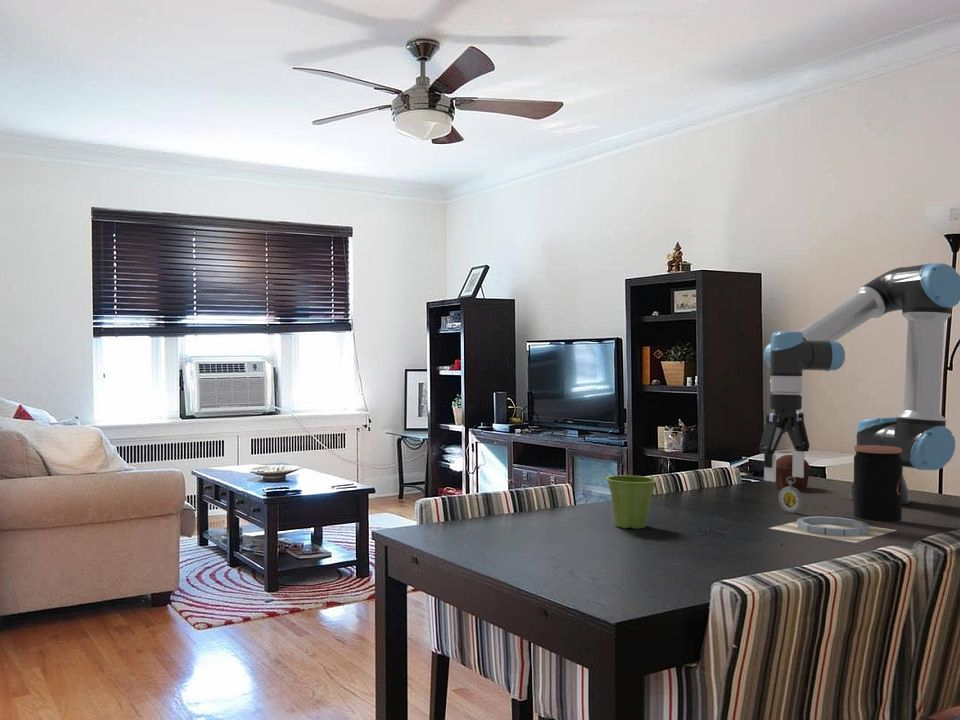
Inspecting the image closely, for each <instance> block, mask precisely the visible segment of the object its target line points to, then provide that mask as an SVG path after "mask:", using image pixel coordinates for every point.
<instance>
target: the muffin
mask: <svg viewBox="0 0 960 720" xmlns="http://www.w3.org/2000/svg"><path fill="white" fill-rule="evenodd" d="M792 464H793V454H784V455H781V456H780V457H778V458H776V482H775V487H776V489H778V490H782V489H783V488H784V487H788V486H789V483H788V482H789V481H790V480H791V482H794V478H795V480H796V481H795V482H794V483H793V484H791V487H794V488H796V489H797V490H799V491H804V490H805V491H806V490H807V488H808V482H809V478H810V477H809V476H810V471H811V469H812V467H811V465H810V464H809V462H808V461H807V460H806V459H805V458H804V478H801V477H794V478H788V477H792ZM787 478H788V479H787ZM786 479H787V480H788V482H787V481H786Z"/></svg>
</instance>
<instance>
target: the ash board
mask: <svg viewBox="0 0 960 720" xmlns="http://www.w3.org/2000/svg"><path fill="white" fill-rule="evenodd" d="M811 525H815V526H822V527H831V528H854V527H850V526H844V525H835V524H811ZM768 529H770V530H776V531H783V532H788V533H794V534H800V535H807V536H812V537H817V538H823V539H824V538H825V539H829V540H838V541H843V542H848V543H849V542H850V543H855V544H857V543H860V542H863V541H866V540H870V539H873V538H876V537H879V536H882V535H887V534H889V533H894V532H897V529H890V528H883V527H878V526H872V525H871V526H870V525H869V533H868V534H864V535H860V536H833V535H826V534H825V535H822V534H816V533H810V532H806V531H803V530H800V529H798V527H797V521H792V522H788V523H785V524H781V525H780V524H779V525H776V526H772V527H768Z"/></svg>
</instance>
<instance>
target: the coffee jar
mask: <svg viewBox="0 0 960 720" xmlns="http://www.w3.org/2000/svg"><path fill="white" fill-rule="evenodd" d="M853 450H854V452H855V455H854V456H853V482H854V500H853V516H854V518H857V519H861V520H867V521H875V522H897V521H898V522H900V521H901V520H902V518H903V515H902V513H903V504H902V459H901V457H900V454H901V452H902V449H901V448H898V447H891V446H876V445H860V446H857V445H854V447H853Z"/></svg>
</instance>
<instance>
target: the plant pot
mask: <svg viewBox="0 0 960 720" xmlns="http://www.w3.org/2000/svg"><path fill="white" fill-rule="evenodd" d="M605 480H606V481H607V483H608V488H609V491H610V495H611V496H610V497H611V505H612V511H613V512H612V513H613V520H614V524H615V527H617V528H622V529H628V528H632V529H633V530H634V529H635V530H639V529H645V528H646V527H647V522H648V518H649V512H650V507H651V500H652V495H653V492H654V489H655V485H656V483H657V482H658V480H657V479H656V478H653V477H649V476H643V475H642V476H641V475H611V476H606V477H605Z"/></svg>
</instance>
